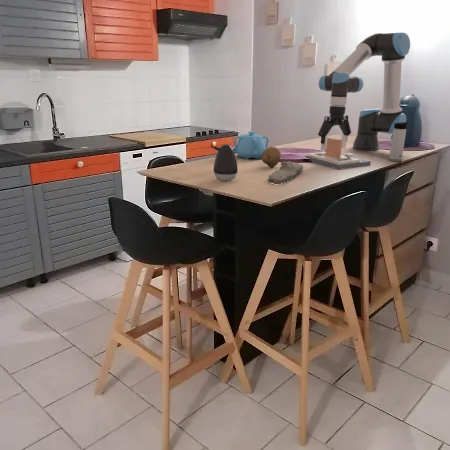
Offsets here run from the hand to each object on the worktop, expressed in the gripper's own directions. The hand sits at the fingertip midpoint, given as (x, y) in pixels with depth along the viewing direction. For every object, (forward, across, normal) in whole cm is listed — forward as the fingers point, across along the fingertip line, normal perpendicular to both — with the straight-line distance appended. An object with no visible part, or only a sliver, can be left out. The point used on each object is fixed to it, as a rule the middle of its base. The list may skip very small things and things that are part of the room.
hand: (333, 149), depth 220 cm
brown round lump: (+7, +35, -6) cm, 36 cm away
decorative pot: (+7, +30, -30) cm, 43 cm away
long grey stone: (+8, +39, +12) cm, 41 cm away
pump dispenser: (+7, +67, +6) cm, 67 cm away
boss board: (+7, -3, 0) cm, 8 cm away
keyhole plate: (+5, -1, 0) cm, 5 cm away
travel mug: (+7, -36, +10) cm, 38 cm away
